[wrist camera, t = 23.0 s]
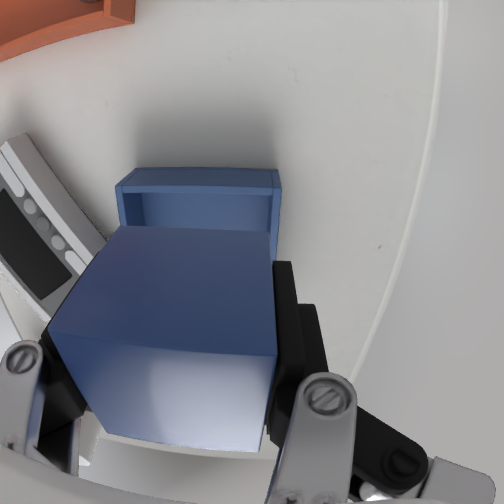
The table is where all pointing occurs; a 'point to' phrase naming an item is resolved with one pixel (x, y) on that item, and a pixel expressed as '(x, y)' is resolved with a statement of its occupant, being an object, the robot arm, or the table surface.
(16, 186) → the alarm clock
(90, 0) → the pill bottle
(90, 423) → the white round column
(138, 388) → the blue block
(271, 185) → the blue bin
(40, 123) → the table surface
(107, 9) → the terracotta bin
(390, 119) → the table surface
